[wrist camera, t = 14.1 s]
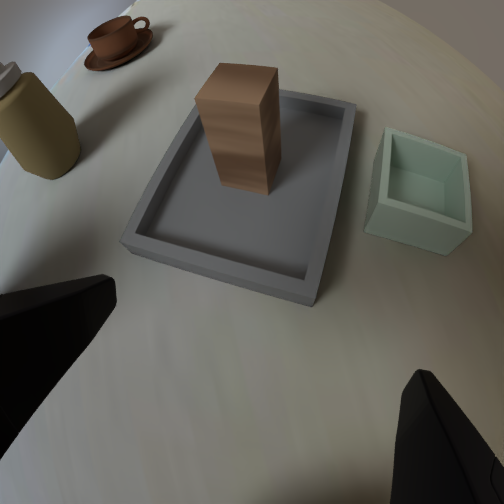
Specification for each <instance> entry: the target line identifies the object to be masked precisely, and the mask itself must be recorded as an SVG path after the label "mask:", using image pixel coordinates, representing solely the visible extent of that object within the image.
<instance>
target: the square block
mask: <svg viewBox="0 0 504 504" xmlns="http://www.w3.org/2000/svg"><path fill="white" fill-rule="evenodd" d="M195 102H196V105H197V108H198V111H199V115H200V118H201V121H202V124H203V127H204V131H205V134H206V137H207V140H208V143H209V147H210V150H211V153H212V156H213V159H214V163H215V166H216V169H217V172H218V175H219V178H220V182H221V185H222V186H227V187H231V188H236V189H241V190H245V191H250V192H255V193H259V194H263V195H269V192H270V189H271V186H272V184H273V181H274V178H275V175H276V172H277V170H278V167H279V164H280V161H281V158H282V157H281V128H280V104H279V83H278V68H274V67H266V66H256V65H244V64H230V63H219V65H218V66H217V67H216V69H215V70H214V71H213V73H212V74H211V75H210V77H209V78H208V80H207V81H206V82H205V84H204V85H203V87H202V88H201V89H200V91H199V92H198V94H197V95H196V97H195Z"/></svg>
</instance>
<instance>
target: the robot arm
mask: <svg viewBox="0 0 504 504" xmlns="http://www.w3.org/2000/svg"><path fill="white" fill-rule="evenodd" d="M116 303H117V297H116V285H115V280H114V279H113V278H112V277H109V276H107V275H104V274H101V275H96V276H91V277H86V278H81V279H76V280H71V281H66V282H61V283H56V284H51V285H46V286H41V287H36V288H31V289H26V290H21V291H16V292H11V293H6V294H4V295H3V294H1V295H0V460H1V458H2V457H3V455H4V454H5V452H6V451H7V450H8V448H9V447H10V445H11V444H12V443H13V441H14V440H15V438H16V437H17V436H18V434H19V432H20V431H21V430H22V428H23V427H24V426H25V424H26V423H27V422H28V420H29V419H30V418H31V416H32V415H33V414H34V412H35V411H36V410H37V409H38V407H39V406H40V405H41V403H42V402H43V401H44V399H45V398H46V397H47V396H48V394H49V393H50V392H51V391H52V389H53V388H54V387H55V386H56V384H57V383H58V382H59V381H60V379H61V378H62V377H63V376H64V374H65V373H66V372H67V371H68V369H69V368H70V367H71V366H72V365H73V363H74V362H75V361H76V360H77V358H78V357H79V356H80V355H81V354H82V352H83V351H84V350H85V349H86V348H87V346H88V345H89V344H90V343H91V341H92V340H93V339H94V337H95V336H96V334H97V333H98V331H99V330H100V328H101V327H102V326H103V324H104V323H105V321H106V320H107V318H108V317H109V315H110V314H111V313H112V311H113V310H114V308H115V306H116ZM390 504H504V467H503V465H502V464H501V463H500V461H499V460H498V458H497V457H495V454H494V453H493V451H492V450H491V449H490V447H489V446H488V444H487V443H486V442H485V440H484V439H483V438H482V436H481V435H480V433H479V432H478V431H477V429H476V428H475V427H474V425H473V424H472V423H471V421H470V420H469V419H468V418H467V416H466V415H465V414H464V412H463V411H462V410H461V408H460V407H459V406H458V405H457V403H456V402H455V401H454V399H453V398H452V397H451V396H450V394H449V393H448V392H447V391H446V389H445V388H444V387H443V386H442V384H441V383H440V382H439V381H438V379H437V378H436V377H435V376H434V374H433V373H432V372H431V371H428V370H422V369H418V370H416V371H415V373H414V374H413V376H412V377H411V379H410V380H409V382H408V384H407V385H406V387H405V388H404V390H403V392H402V396H401V404H400V413H399V420H398V427H397V434H396V441H395V454H394V469H393V481H392V491H391V499H390Z"/></svg>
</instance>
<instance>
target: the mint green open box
mask: <svg viewBox="0 0 504 504" xmlns="http://www.w3.org/2000/svg"><path fill="white" fill-rule="evenodd" d="M364 232H365V233H369V234H372V235H376V236H379V237H383V238H387V239H390V240H394V241H397V242H401V243H404V244H407V245H411V246H414V247H418V248H421V249H424V250H428V251H431V252H434V253H437V254H441V255H444V256H447V255H448V254H450V253H451V252H452V251H453V250H454V249H455V248H456V247H457V246H459V245H460V244H461V243H462V242H463V241H464V240H465V239H466V238H467V237H468V236H469V235H471V234H472V208H471V193H470V182H469V173H468V164H467V157H466V154H464V153H461V152H459V151H456V150H453V149H451V148H448V147H445V146H443V145H440V144H437V143H434V142H432V141H429V140H426V139H423V138H420V137H417V136H414V135H411V134H408V133H404V132H401V131H398V130H395V129H391V128H388V127H385V129H384V132H383V135H382V138H381V141H380V144H379V147H378V150H377V153H376V156H375V159H374V164H373V172H372V180H371V188H370V195H369V202H368V208H367V214H366V221H365V226H364Z"/></svg>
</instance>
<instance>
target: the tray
mask: <svg viewBox="0 0 504 504" xmlns="http://www.w3.org/2000/svg"><path fill="white" fill-rule="evenodd" d="M279 104H280V128H281V157H282V158H281V161H280V164H279V167H278V170H277V172H276V175H275V178H274V181H273V184H272V186H271V189H270V192H269V195H263V194H259V193H255V192H250V191H245V190H241V189H236V188H231V187H227V186H222V185H221V182H220V178H219V175H218V172H217V169H216V166H215V163H214V159H213V156H212V153H211V150H210V147H209V143H208V140H207V137H206V134H205V131H204V127H203V124H202V121H201V118H200V115H199V111H198V108H197V105H195V106H194V108H193V109H192V111H191V112H190V114H189V115H188V117H187V119H186V120H185V122H184V123H183V125H182V127H181V128H180V130H179V131H178V133H177V135H176V136H175V138H174V140H173V141H172V143H171V145H170V146H169V148H168V150H167V151H166V153H165V155H164V157H163V158H162V160H161V162H160V164H159V165H158V167H157V169H156V171H155V173H154V174H153V176H152V178H151V180H150V182H149V184H148V185H147V187H146V189H145V191H144V193H143V195H142V197H141V199H140V201H139V203H138V205H137V207H136V208H135V210H134V212H133V214H132V216H131V219H130V221H129V223H128V225H127V227H126V229H125V231H124V233H123V235H122V237H121V239H120V241H119V242H120V243H121V244H122V245H124V246H125V247H126V248H127V249H128V250H129V251H130V252H131V253H132V254H135V255H139V256H142V257H145V258H148V259H151V260H154V261H157V262H160V263H163V264H167V265H170V266H173V267H176V268H179V269H183V270H186V271H189V272H192V273H195V274H199V275H202V276H205V277H209V278H212V279H215V280H219V281H222V282H225V283H229V284H232V285H235V286H239V287H242V288H246V289H249V290H253V291H256V292H260V293H263V294H267V295H270V296H274V297H277V298H281V299H284V300H288V301H292V302H295V303H299V304H302V305H306V306H310V307H312V306H313V303H314V301H315V298H316V294H317V291H318V287H319V283H320V279H321V275H322V271H323V267H324V263H325V259H326V255H327V251H328V247H329V243H330V239H331V234H332V230H333V226H334V221H335V217H336V212H337V208H338V203H339V198H340V193H341V189H342V184H343V179H344V174H345V168H346V163H347V158H348V152H349V147H350V141H351V135H352V129H353V123H354V117H355V111H356V104H353V103H349V102H344V101H340V100H335V99H330V98H326V97H321V96H315V95H310V94H305V93H299V92H293V91H286V90H280V89H279Z"/></svg>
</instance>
